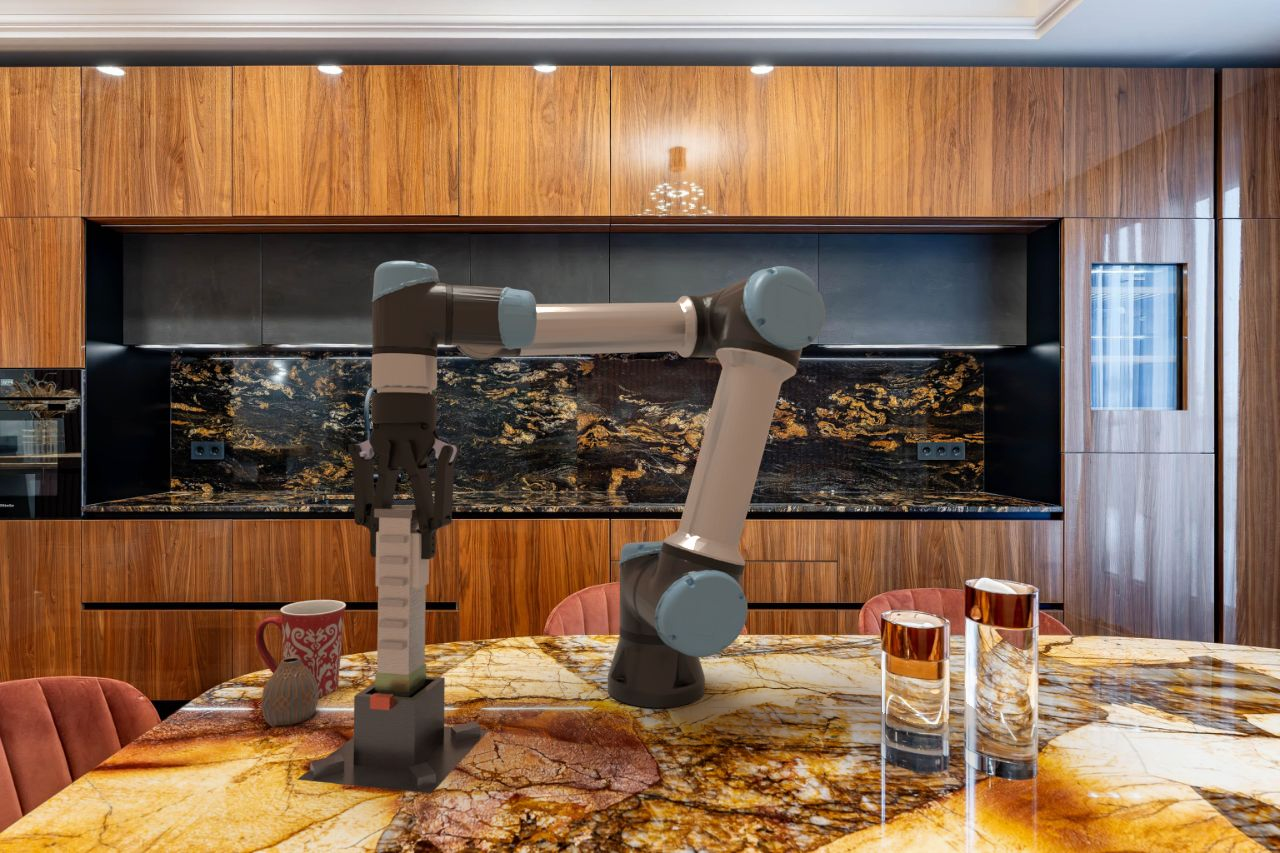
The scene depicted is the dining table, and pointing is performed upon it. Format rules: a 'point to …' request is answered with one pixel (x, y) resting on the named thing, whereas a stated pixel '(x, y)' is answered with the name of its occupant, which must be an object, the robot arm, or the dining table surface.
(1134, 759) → the dining table surface
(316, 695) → the vase
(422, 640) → the column
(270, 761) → the dining table surface
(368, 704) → the stand base
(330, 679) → the mug
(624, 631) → the robot arm
